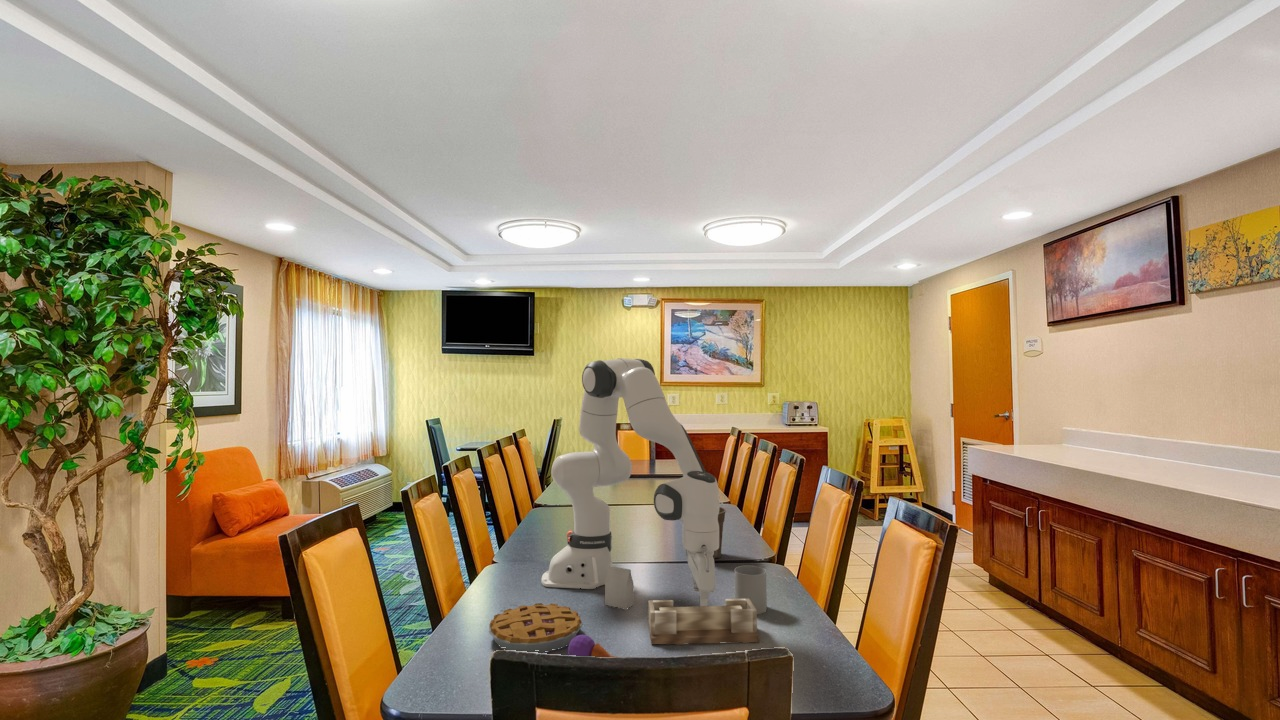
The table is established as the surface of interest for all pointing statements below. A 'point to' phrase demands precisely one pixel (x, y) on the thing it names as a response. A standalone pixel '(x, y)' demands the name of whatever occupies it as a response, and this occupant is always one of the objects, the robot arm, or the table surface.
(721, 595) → the table surface
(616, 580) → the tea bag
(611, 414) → the robot arm
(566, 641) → the pie
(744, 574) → the cup
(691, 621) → the slat
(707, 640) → the endcap rack
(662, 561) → the table surface
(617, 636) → the table surface
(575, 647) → the ice cream cone
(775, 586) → the table surface
